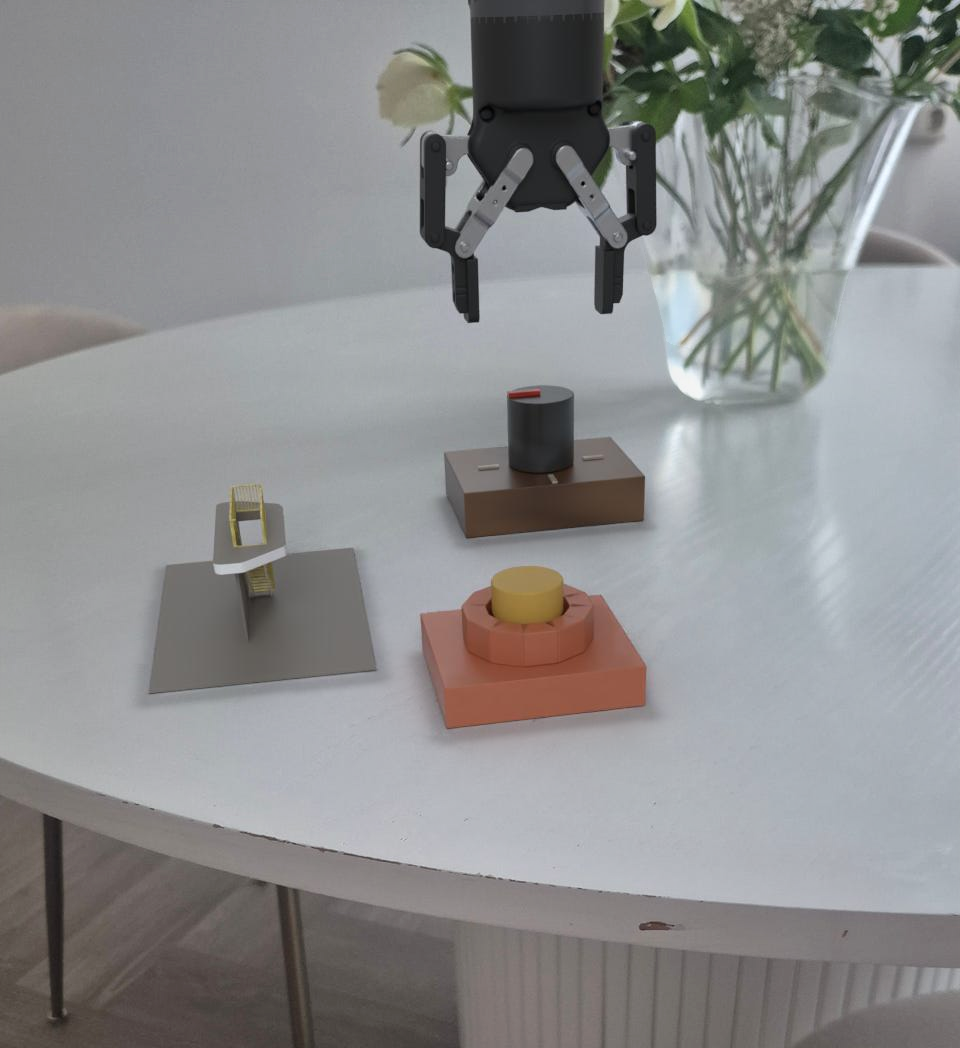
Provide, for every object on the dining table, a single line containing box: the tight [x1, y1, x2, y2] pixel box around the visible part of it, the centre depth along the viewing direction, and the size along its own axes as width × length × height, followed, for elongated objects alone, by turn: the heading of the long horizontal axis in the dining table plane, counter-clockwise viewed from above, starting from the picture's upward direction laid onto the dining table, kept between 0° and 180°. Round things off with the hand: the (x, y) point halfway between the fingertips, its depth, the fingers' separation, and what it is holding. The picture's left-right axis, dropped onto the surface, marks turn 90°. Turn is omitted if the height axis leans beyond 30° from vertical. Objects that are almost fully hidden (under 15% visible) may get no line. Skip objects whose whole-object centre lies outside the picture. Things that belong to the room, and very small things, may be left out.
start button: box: [490, 565, 564, 624], centre depth 63 cm, size 4×4×2 cm
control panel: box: [443, 436, 646, 539], centre depth 86 cm, size 12×9×3 cm
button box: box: [419, 582, 648, 729], centre depth 65 cm, size 10×9×4 cm
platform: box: [148, 483, 378, 694], centre depth 72 cm, size 12×18×7 cm, turn 9°
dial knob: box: [506, 384, 575, 473], centre depth 84 cm, size 4×4×5 cm
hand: (538, 316), depth 80 cm, fingers open, 8 cm apart
